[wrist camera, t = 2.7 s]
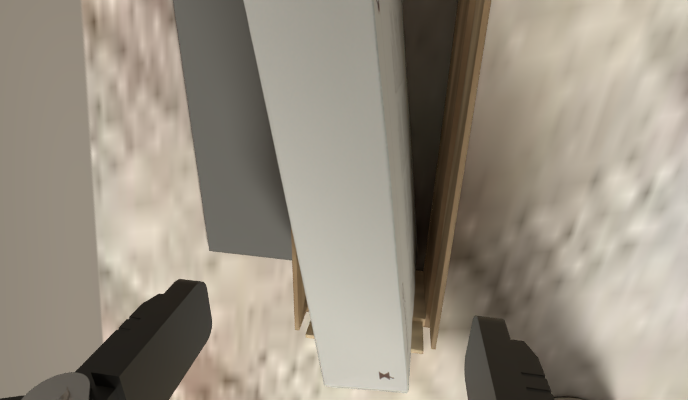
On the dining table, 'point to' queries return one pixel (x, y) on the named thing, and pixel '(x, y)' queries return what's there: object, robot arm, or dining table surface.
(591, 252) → the dining table surface
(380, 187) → the skincare box
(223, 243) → the mat
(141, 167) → the dining table surface
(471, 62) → the carton
